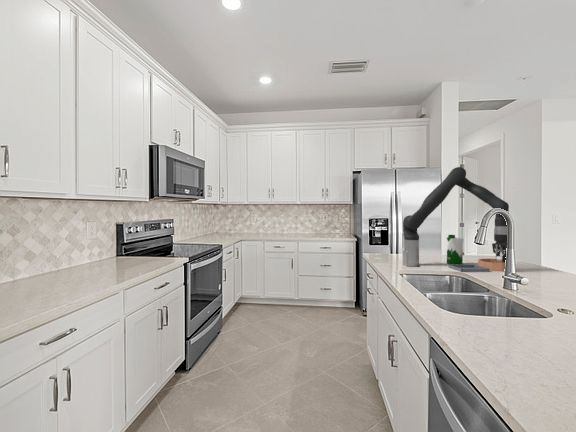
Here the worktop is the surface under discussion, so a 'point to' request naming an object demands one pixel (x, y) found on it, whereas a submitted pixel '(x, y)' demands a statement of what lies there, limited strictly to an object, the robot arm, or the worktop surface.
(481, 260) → the bowl
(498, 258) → the white pebble
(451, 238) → the milk carton
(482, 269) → the tray
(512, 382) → the worktop surface
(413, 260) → the robot arm
